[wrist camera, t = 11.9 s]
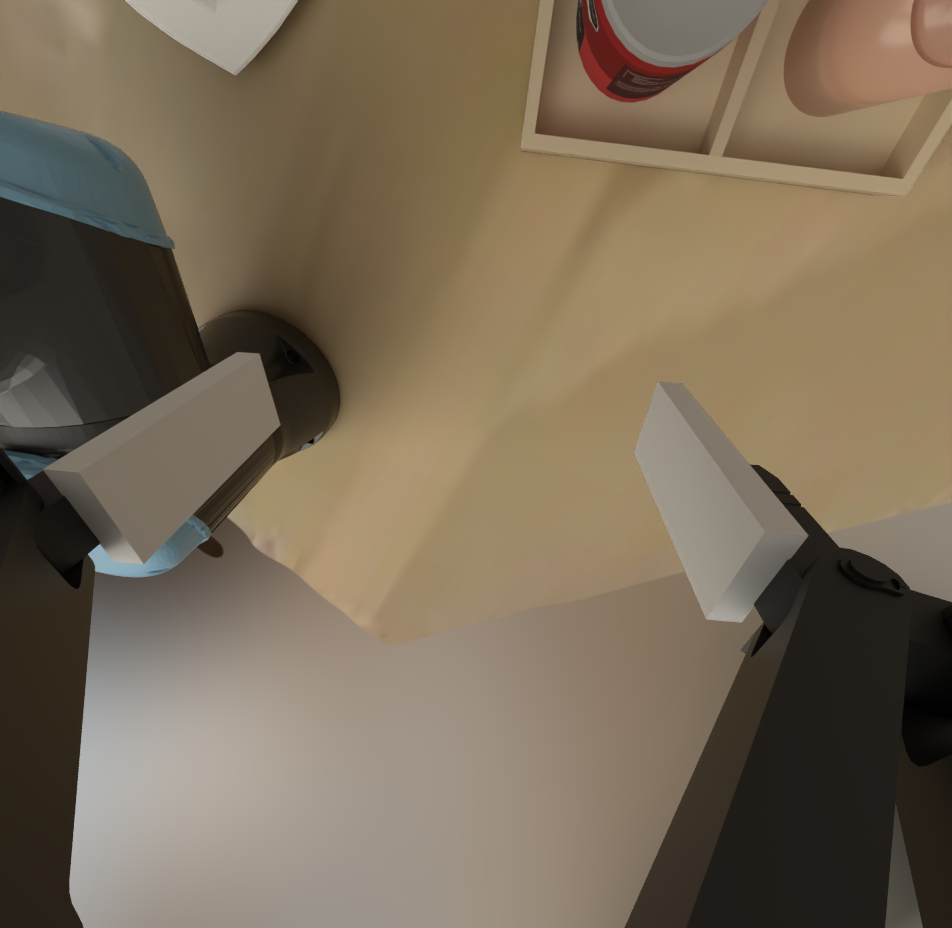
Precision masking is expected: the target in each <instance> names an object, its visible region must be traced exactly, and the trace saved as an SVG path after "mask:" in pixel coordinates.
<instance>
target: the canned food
mask: <svg viewBox="0 0 952 928" xmlns="http://www.w3.org/2000/svg"><path fill="white" fill-rule="evenodd" d="M768 1H769V0H578V7H577V15H576V37H577V43H578V50H579V55H580V58H581V61H582V64H583V67H584V69H585V71H586V73H587V75H588V76H589V78H590V80H591V82H592V83H593V84H594V85H595V86H596V87H597V88H598V90H599V91H600V92H602V93H603V94H605V95H606V96H608V97H609V98H611V99H614V100H617V101H620V102H630V103H634V102H639V101H644V100H647V99H649V98H652V97H654V96H656V95H658V94H660V93H661V92H662V91H664V90H665V89H667V88H668V87H670V86H671V85H672V84H674V83H675V82H677V81H678V80H679V79H681V78H682V77H684V76H685V75H687V74H688V73H689V72H691V71H692V70H694V69H695V68H697V67H698V66H699V65H701V64H702V63H704V62H705V61H706V60H708V59H709V58H711V57H712V56H714V55H715V54H716V53H718V52H719V51H721V50H722V49H723V48H724V47H725V46H727V45H728V44H729V43H731V42H732V41H733V40H734V39H735V38H736V37H737V36H738V35H739V34H740V33H741V32H742V31H743V30H744V29H745V28H746V27H747V26H748V25H749V24H750V23H751V22H752V21H753V20H754V19H755V17H756V16H757V15H758V13H759V12H760V11H761V10H762V8H763V7H764V6H765V4H766V3H767V2H768Z"/></svg>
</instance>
